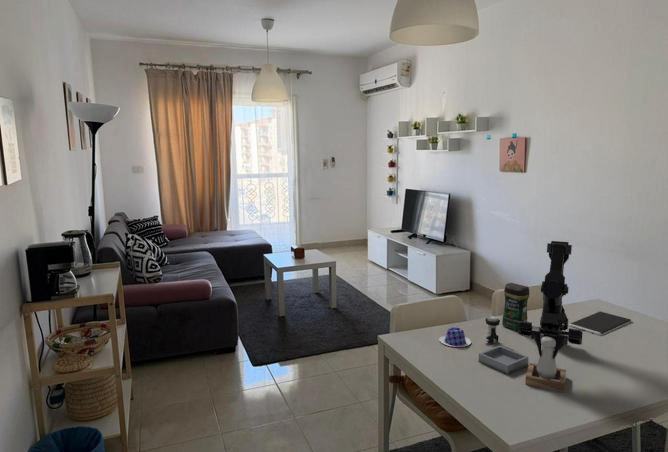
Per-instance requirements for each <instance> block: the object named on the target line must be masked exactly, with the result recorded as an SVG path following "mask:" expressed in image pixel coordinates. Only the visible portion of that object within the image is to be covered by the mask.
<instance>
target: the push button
mask: <svg viewBox="0 0 668 452" xmlns="http://www.w3.org/2000/svg"><path fill="white" fill-rule="evenodd" d="M500 323H501V320H500V319H499V317H497V316H496V315H489V316H487V317H486V318H485V324H486V325H488V329H487V330H488V331H487V335H486V336H485V339H484V340H483V341H484V344H488V345H491V344H496V343H498V342H499V338H500V337H499V335H498V334H497V327H498V326H499V325H500Z"/></svg>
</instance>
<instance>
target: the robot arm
mask: <svg viewBox="0 0 668 452" xmlns="http://www.w3.org/2000/svg"><path fill="white" fill-rule="evenodd" d="M572 248H573V245H572V244H569V241H562V240H561V241H559V240H551V242H550V243H549V242H547V243H546V253H548V258H549V260H550V265H549V272H547V273H546V274H545V276H544V281H543V280H542V283H541V287H540V293H542V301H543V303H542V311H541V316H540V321H539V326H537V325H536V326H534V325H533V322H531V321H527V322H525V321H520V322H519V325H518V330H517V331H518V335H520V336H523V337H524V336H525V337H530V339H531V340H534V341H535V344H536V347H537V351H538V355H539V358H540V357H541V351H542V344H541V338H543V337H551V338H554V339H555V341H556V346H555V347H554V354H553V359H555V360H556V358H557V355H558V353H559V351H560V350H561V349H562V348H563V347H564V346H565V345H566V346H567V345H568V344H572V345H578V346H580V345H581V346H582V344H583V330H579V329H576V328H572V327H570V328H568V327H569V318H568V316H567V314H566V310H565V308H564V306H563V297H564V296H567V294H569V289H570V288H569V286H568V284H567V283H566V277H565V275H564V271H565V270H564V267H565V265H566V263H567V262H568V261H569V259H570V255H571V256H572ZM567 330H568V331H567ZM541 335H542V337H541ZM568 342H569V343H568Z"/></svg>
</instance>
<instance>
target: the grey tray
mask: <svg viewBox="0 0 668 452" xmlns="http://www.w3.org/2000/svg"><path fill="white" fill-rule="evenodd" d="M478 362H479V363H480V364H483V365H485V366H487V367H490V368H492V369H494V370H497V371H499V372H501V373H504V374H506V375H509V374H511V373H513V372H515V371H518V370H520V369H522V368H525V367H526V366H529V356H527V355H525V354H522V353H520V352H517V351H515V350H513V349H509V348H507V347H505V346H502V345H497V346H495V347H492V348H490V349H486V350H484V351H482V352H480V353H478Z"/></svg>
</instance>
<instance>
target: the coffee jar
mask: <svg viewBox="0 0 668 452" xmlns="http://www.w3.org/2000/svg"><path fill="white" fill-rule="evenodd" d="M503 294H504V308H503V314H502V321H501V323H502V326H503V327H505V328H508V329H511V330H516V331H518V325H519V322H520V321H525V322H528V300H529V298H530V295H531V294H530V287H529V286H527V285H522V284H518V283H514V282H509V283H506V284H505V286H504V290H503Z"/></svg>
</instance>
